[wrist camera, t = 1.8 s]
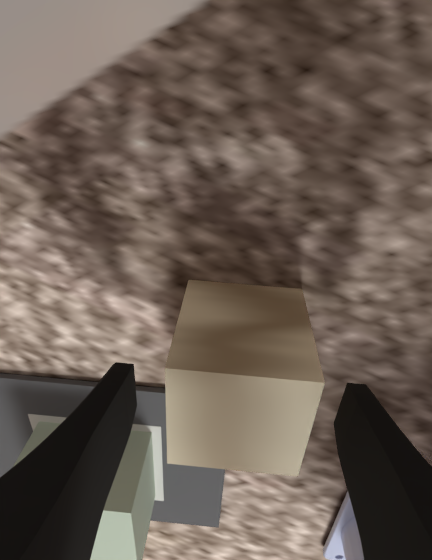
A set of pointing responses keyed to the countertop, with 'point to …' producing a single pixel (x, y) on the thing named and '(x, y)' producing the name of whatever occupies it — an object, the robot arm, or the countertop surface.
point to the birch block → (241, 379)
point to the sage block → (119, 497)
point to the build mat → (148, 417)
